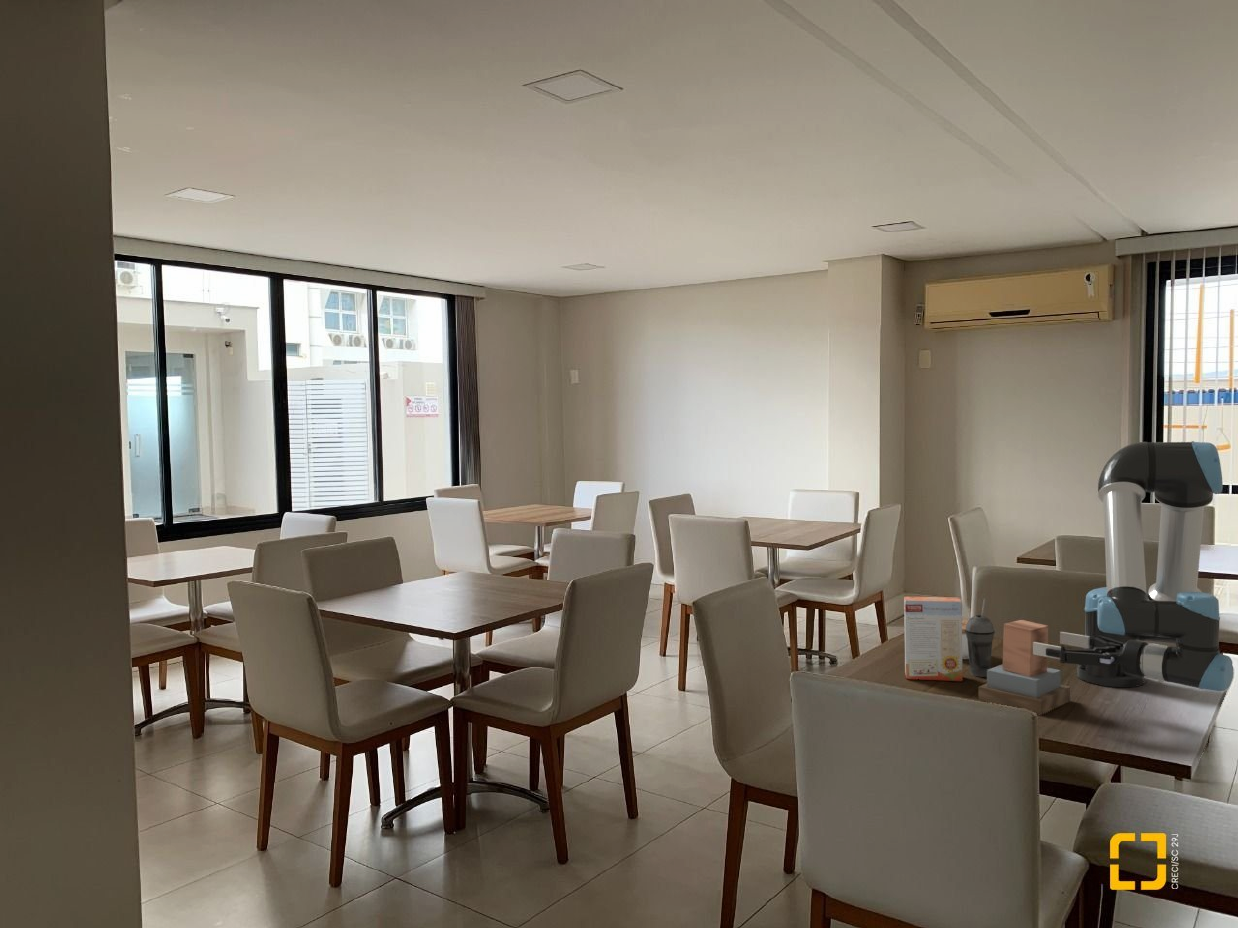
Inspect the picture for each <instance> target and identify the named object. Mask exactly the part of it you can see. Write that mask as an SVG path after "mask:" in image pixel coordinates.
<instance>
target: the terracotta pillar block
mask: <svg viewBox="0 0 1238 928" xmlns="http://www.w3.org/2000/svg"><path fill="white" fill-rule="evenodd" d="M1002 637H1003V639H1002V642H1003V643H1002V664H1003V670H1007V671H1011V672H1014V673H1018V674H1021V675H1025V676H1029V677H1030V676H1034V675H1037V674H1040V673H1044V672H1047V668H1048V657H1044V656H1039V655H1034V654H1033V642H1037V643H1043V644H1049V625H1047V624H1043V623H1037V622H1033V621H1029V620H1025V619H1019V620H1015V621H1009V622H1006V623H1003V636H1002Z"/></svg>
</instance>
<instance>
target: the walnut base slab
mask: <svg viewBox="0 0 1238 928" xmlns="http://www.w3.org/2000/svg"><path fill="white" fill-rule="evenodd" d="M977 691H978V695H977V696H978V697H977V698H978V700H980V701H979V702H981V701H985V702H984V703H986V702H992V703H996V704H1001V705H1007V706H1012V707H1017V708H1026V709H1028V710H1032V711H1033V712H1036V713H1037V714H1040V715H1039V716H1043V715H1045V714H1047V713H1049V712H1051V711H1053V710H1055V709H1056V708H1059V707H1061V706H1063V705H1065V704H1067V703H1069V702H1070V701H1071V686H1068V685H1063V684H1061V687H1059V688H1057V689H1055V690H1053V691H1051V692H1048V693H1046V694H1044V695H1042V696H1039V697H1037V698H1035V697H1030V696H1026V695H1022V694H1017V693H1013V692H1008V691H1004V690H1000V689H995V688H991V687H987V682H986V683H984V684H982V685H980V686H978V690H977ZM1054 708H1055V709H1054ZM1052 709H1053V710H1052ZM1050 710H1051V711H1050ZM1048 711H1049V712H1048ZM1046 712H1047V713H1046ZM1044 713H1045V714H1044ZM1037 714H1036V715H1037ZM1042 714H1043V715H1042Z"/></svg>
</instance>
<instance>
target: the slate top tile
mask: <svg viewBox="0 0 1238 928" xmlns="http://www.w3.org/2000/svg"><path fill="white" fill-rule="evenodd" d="M1061 674H1062V671H1061V669H1057V668H1050V667H1047V672H1044V673H1040V674H1037V675H1034V676H1030V677H1029V676H1025V675H1021V674H1018V673H1014V672H1011V671H1007V670H1003V663H1002V664H999V665H997V666H995V667H992V668H991V667H990V669H988V670H987V677H986V683H987V687H991V688H995V689H1000V690H1004V691H1008V692H1013V693H1017V694H1022V695H1026V696H1030V697H1035V698H1037V697H1039V696H1042V695H1044V694H1046V693H1048V692H1051V691H1053V690H1055V689H1057V688H1059V687H1061V685H1062V683H1061V682H1062V681H1061V680H1062V679H1061V678H1062V677H1061V676H1062V675H1061Z"/></svg>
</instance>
